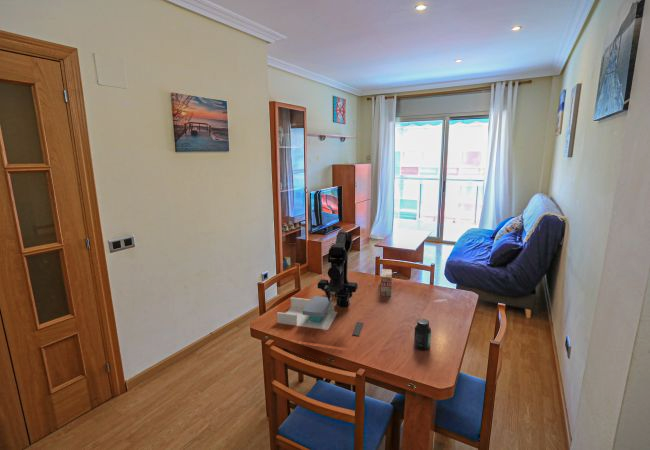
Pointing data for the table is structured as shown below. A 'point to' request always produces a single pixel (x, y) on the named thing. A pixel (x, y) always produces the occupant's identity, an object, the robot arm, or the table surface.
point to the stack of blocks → (386, 282)
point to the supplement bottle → (422, 335)
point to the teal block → (316, 319)
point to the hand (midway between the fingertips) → (337, 302)
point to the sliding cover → (317, 306)
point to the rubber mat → (358, 329)
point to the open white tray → (298, 319)
